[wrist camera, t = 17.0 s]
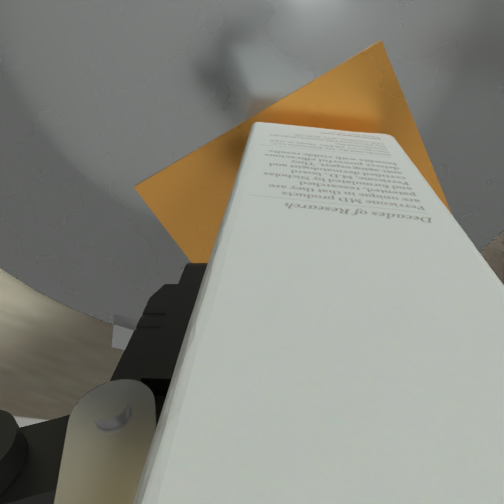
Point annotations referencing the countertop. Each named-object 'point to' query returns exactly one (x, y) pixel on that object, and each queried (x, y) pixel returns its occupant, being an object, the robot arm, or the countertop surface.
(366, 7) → the sprocket
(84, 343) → the countertop surface
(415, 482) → the skincare box
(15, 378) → the countertop surface
